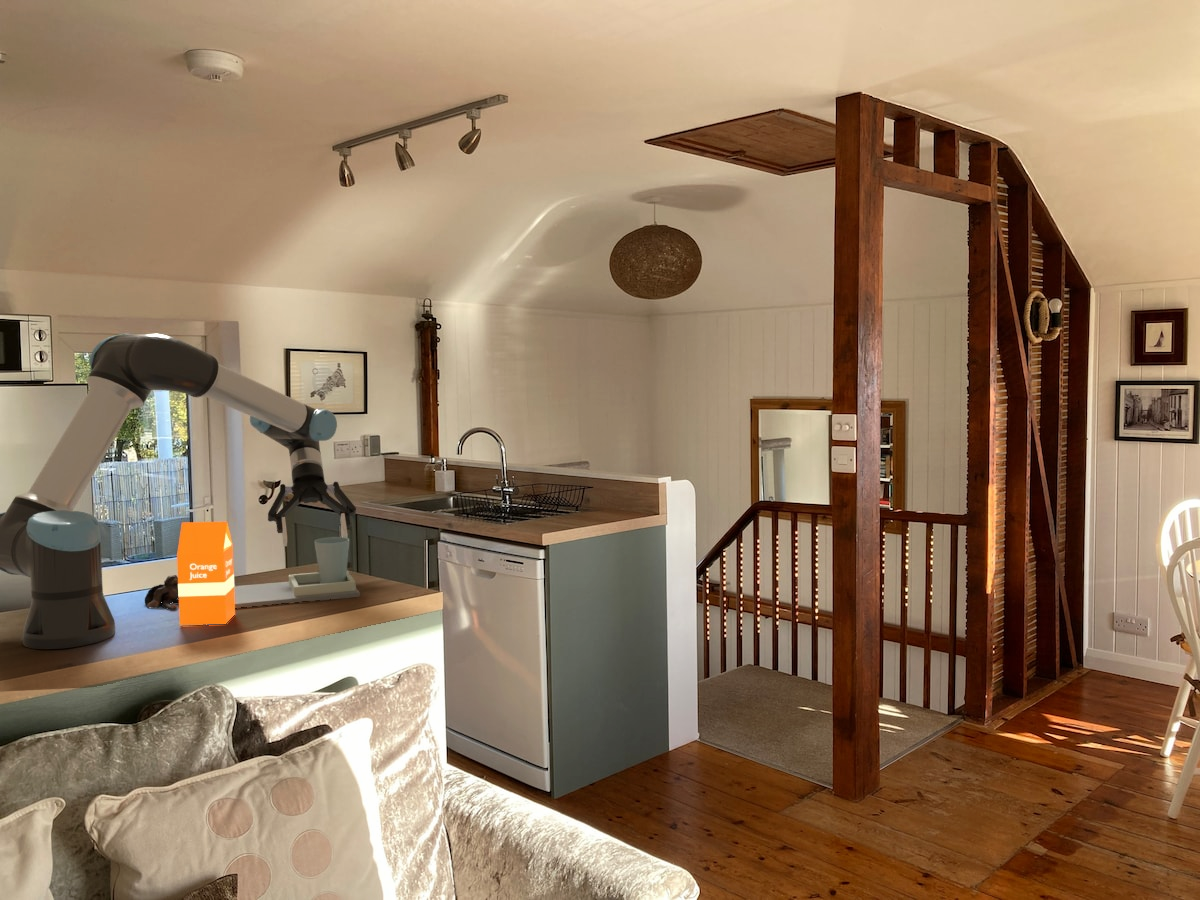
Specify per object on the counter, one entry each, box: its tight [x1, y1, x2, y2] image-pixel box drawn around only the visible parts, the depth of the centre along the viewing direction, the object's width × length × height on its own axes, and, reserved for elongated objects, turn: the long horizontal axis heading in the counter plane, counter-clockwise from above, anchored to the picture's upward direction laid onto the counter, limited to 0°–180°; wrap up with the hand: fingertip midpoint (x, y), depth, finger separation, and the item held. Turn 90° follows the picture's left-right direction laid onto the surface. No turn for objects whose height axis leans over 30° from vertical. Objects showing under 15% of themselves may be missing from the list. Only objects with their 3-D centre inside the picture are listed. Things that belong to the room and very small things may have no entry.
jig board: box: [234, 570, 360, 609], centre depth 211 cm, size 26×17×3 cm, turn 113°
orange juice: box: [176, 521, 236, 626], centre depth 189 cm, size 8×9×20 cm
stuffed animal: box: [144, 574, 179, 610], centre depth 205 cm, size 12×10×12 cm
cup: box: [314, 536, 350, 584], centre depth 215 cm, size 8×8×10 cm
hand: (315, 540), depth 222 cm, fingers open, 13 cm apart
